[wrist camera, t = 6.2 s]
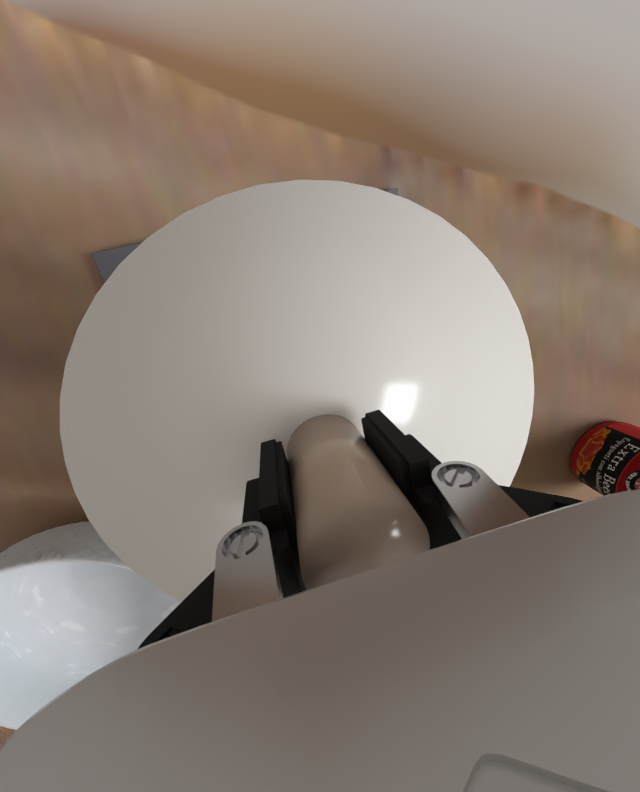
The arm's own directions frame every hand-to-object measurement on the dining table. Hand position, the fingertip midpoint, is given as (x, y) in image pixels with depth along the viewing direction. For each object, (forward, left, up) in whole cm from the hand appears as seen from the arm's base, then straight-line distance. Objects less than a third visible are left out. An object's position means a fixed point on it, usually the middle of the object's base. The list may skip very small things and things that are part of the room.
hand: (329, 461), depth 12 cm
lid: (0, 0, -2) cm, 2 cm away
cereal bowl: (+19, +13, -13) cm, 27 cm away
